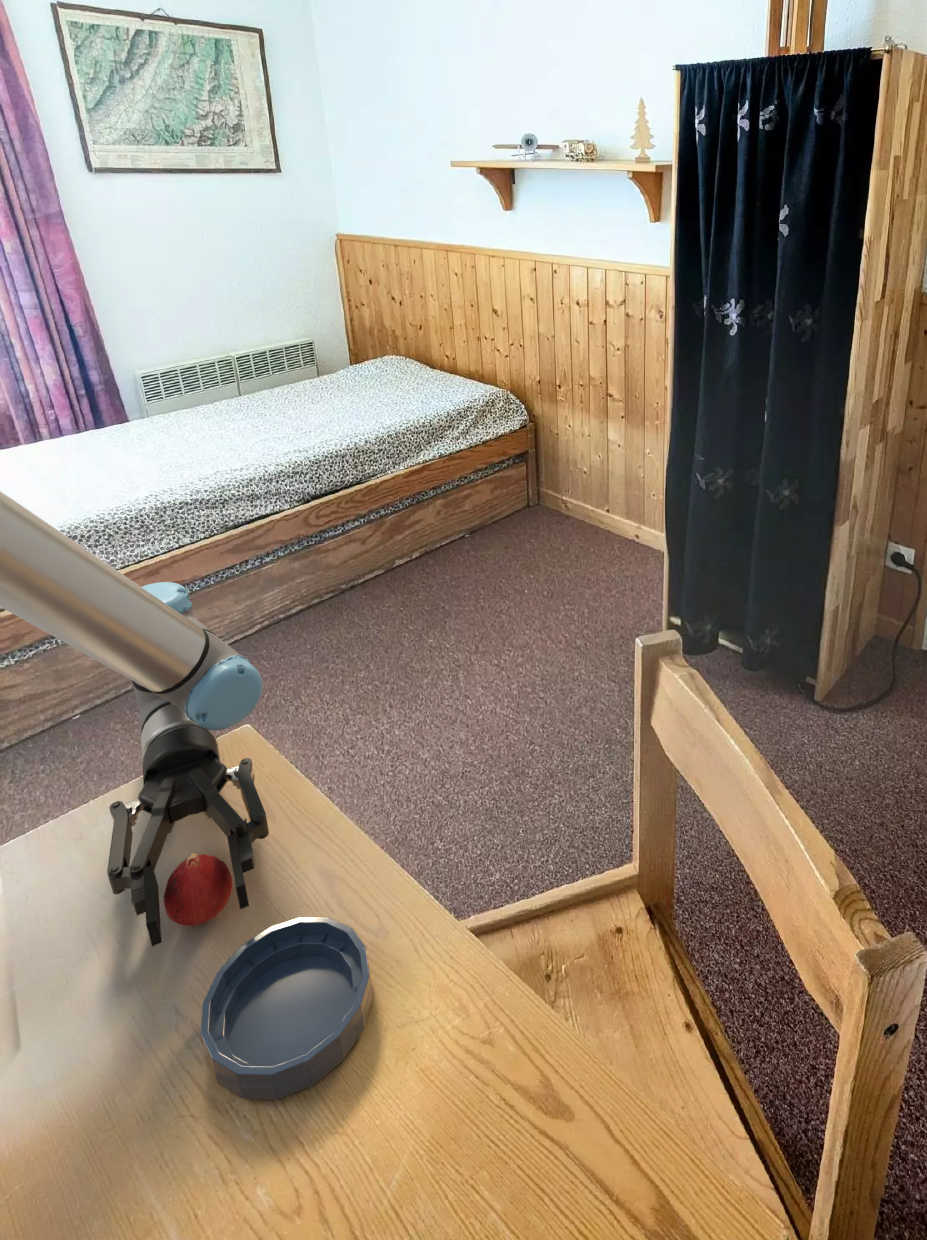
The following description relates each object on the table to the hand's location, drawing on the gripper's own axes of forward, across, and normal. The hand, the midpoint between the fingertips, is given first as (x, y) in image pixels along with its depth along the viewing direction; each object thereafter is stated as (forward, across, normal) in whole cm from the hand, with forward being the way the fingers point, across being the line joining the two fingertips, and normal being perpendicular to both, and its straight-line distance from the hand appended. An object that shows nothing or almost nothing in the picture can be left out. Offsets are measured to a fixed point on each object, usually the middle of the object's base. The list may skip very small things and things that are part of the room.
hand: (199, 914), depth 70 cm
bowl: (+9, -6, -6) cm, 12 cm away
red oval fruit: (-5, 0, -6) cm, 8 cm away
